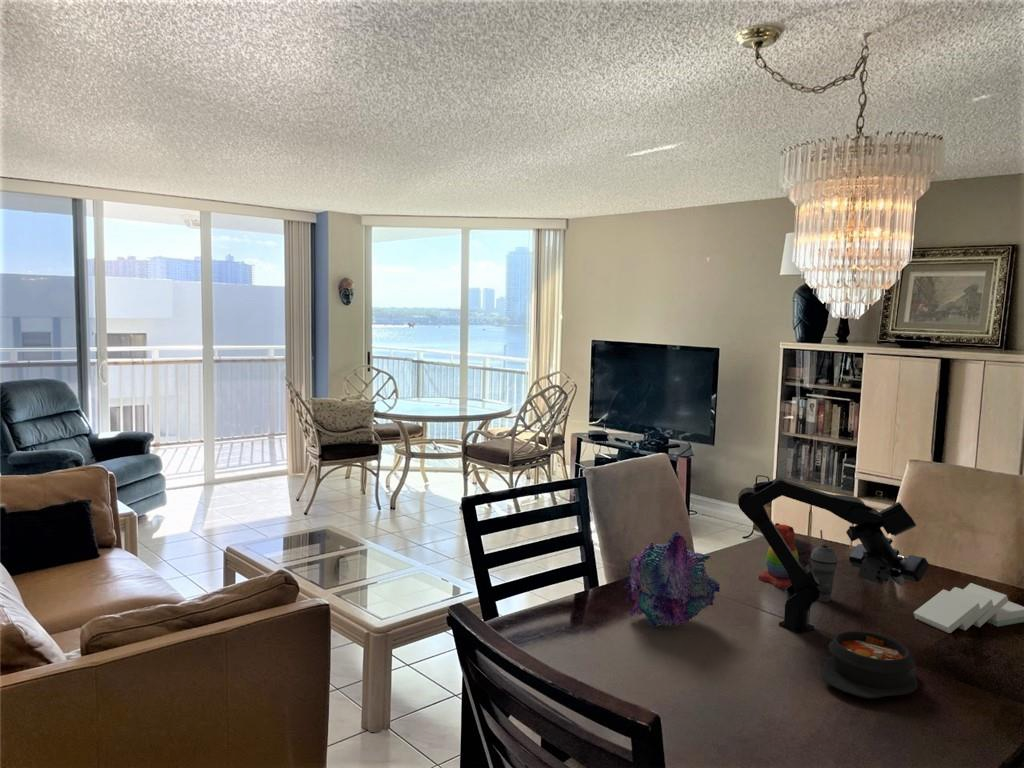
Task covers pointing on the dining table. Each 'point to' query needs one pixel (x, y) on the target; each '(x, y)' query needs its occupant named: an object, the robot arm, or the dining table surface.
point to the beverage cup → (824, 569)
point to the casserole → (869, 665)
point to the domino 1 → (946, 611)
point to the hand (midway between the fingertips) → (901, 583)
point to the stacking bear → (774, 566)
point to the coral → (669, 583)
